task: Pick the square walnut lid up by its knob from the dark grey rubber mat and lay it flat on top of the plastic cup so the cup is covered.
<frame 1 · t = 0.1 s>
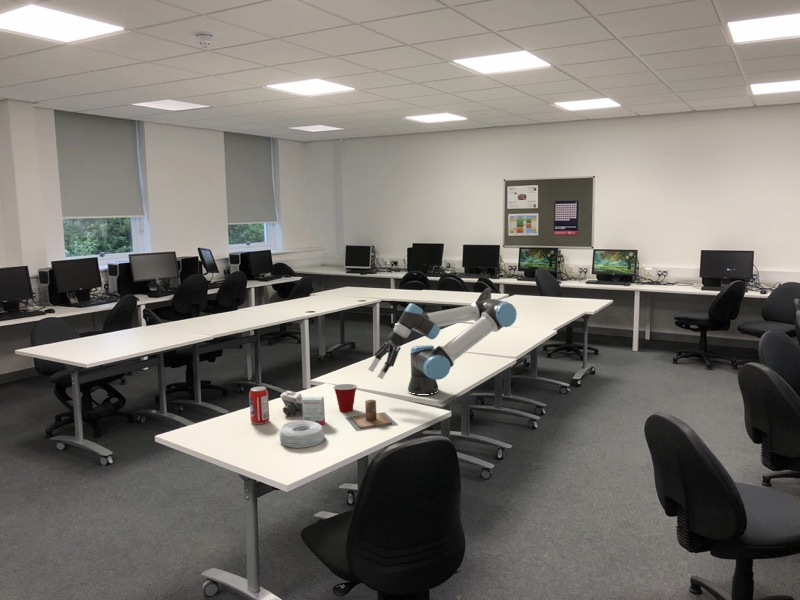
hand: (374, 374, 273), 15 cm above the table, tool tilted 35°, fingers open, 13 cm apart
lid: (371, 421, 254), resting on mat
soda can: (260, 422, 259), on the table
ink box: (314, 425, 254), on the table
plastic cup: (346, 411, 270), on the table
cable: (302, 441, 236), on the table
mat: (371, 422, 255), on the table
camera: (293, 414, 268), on the table
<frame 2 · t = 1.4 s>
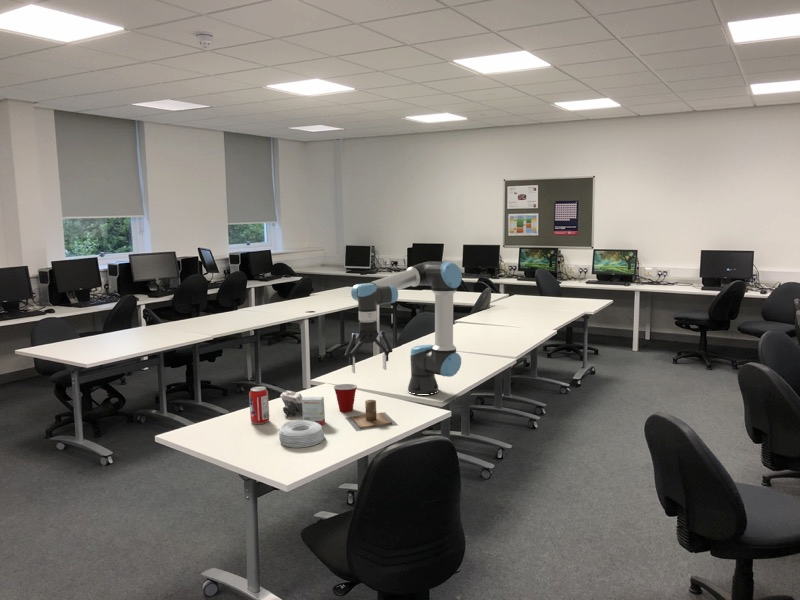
hand: (369, 370, 251), 22 cm above the table, tool pointing down, fingers open, 13 cm apart
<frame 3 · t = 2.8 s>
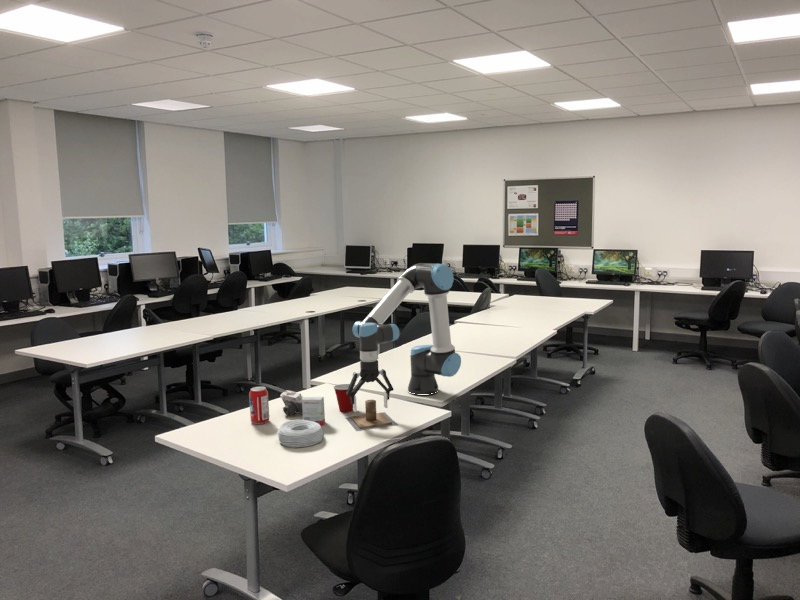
hand: (370, 409, 254), 6 cm above the table, tool pointing down, fingers open, 13 cm apart
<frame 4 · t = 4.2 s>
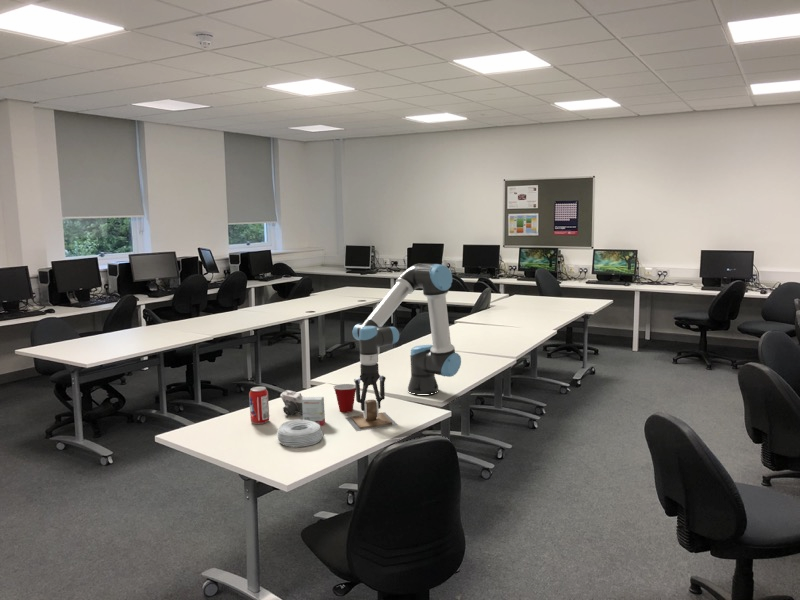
hand: (371, 416, 254), 2 cm above the table, tool pointing down, fingers closed on lid, 4 cm apart
lid: (371, 421, 254), resting on mat, touching gripper
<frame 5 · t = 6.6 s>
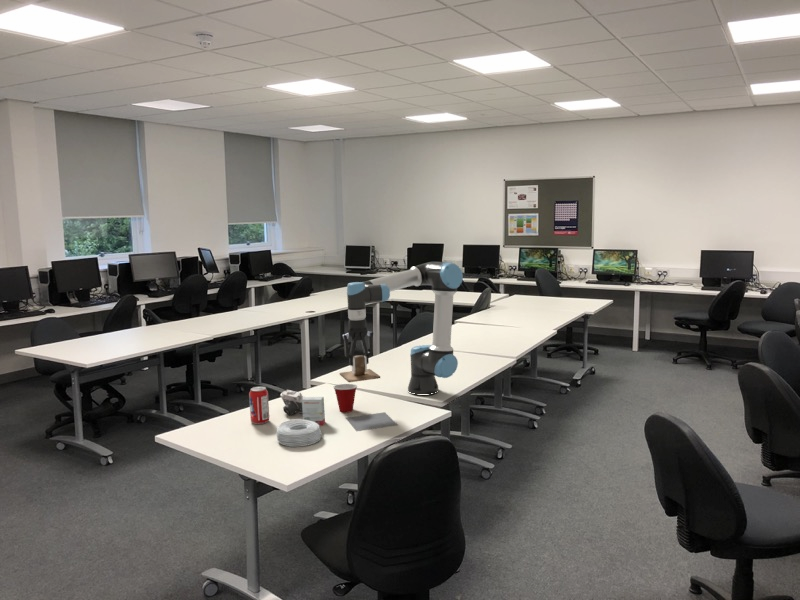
hand: (359, 371, 258), 20 cm above the table, tool pointing down, fingers closed on lid, 4 cm apart
lid: (359, 376, 259), point 18 cm above the table, touching gripper
when the fingers open (15 cm above the table, at t = 8.9 s): lid drops 2 cm, resting on plastic cup.
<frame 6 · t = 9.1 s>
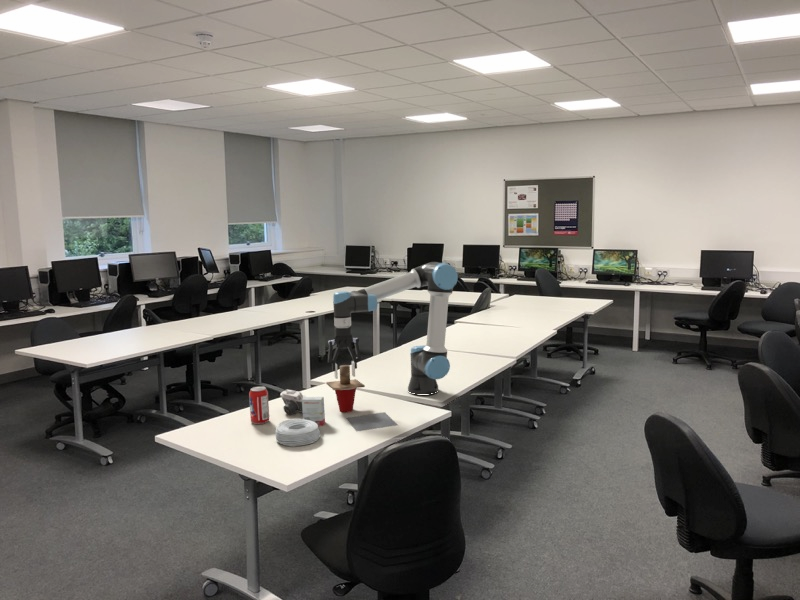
hand: (344, 376, 268), 16 cm above the table, tool pointing down, fingers open, 7 cm apart
lid: (345, 385, 269), point 12 cm above the table, touching plastic cup
plastic cup: (346, 411, 270), on the table, touching lid
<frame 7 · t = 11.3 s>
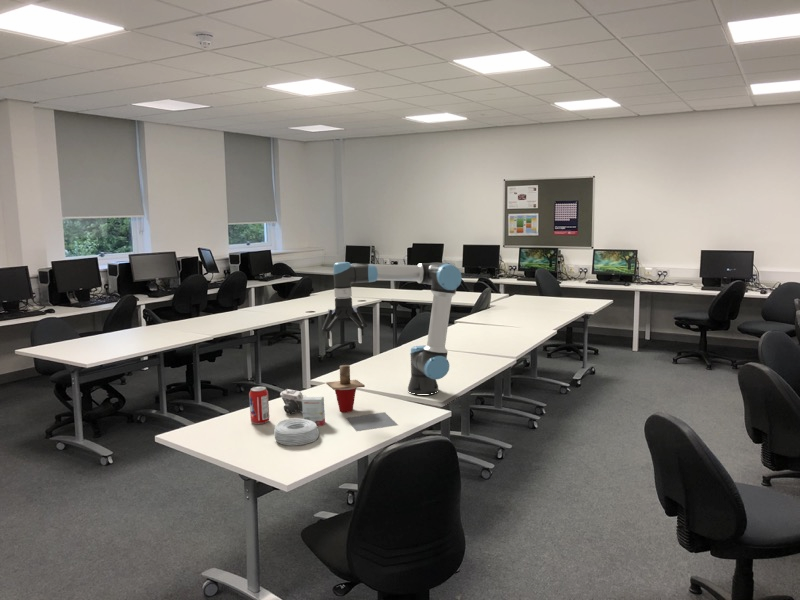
hand: (345, 344, 267), 30 cm above the table, tool pointing down, fingers open, 13 cm apart
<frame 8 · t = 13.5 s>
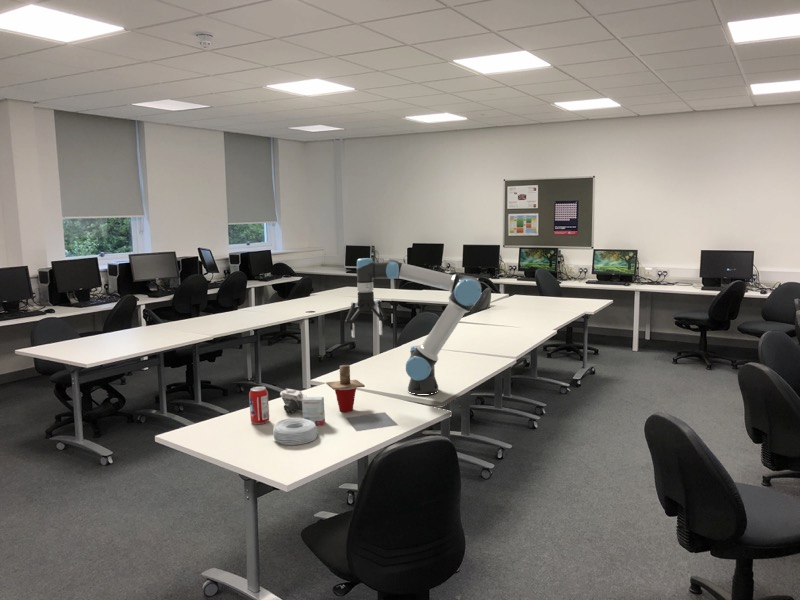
hand: (367, 335, 284), 31 cm above the table, tool pointing down, fingers open, 13 cm apart
at the end: lid 0.0 cm off-centre on the plastic cup, point 12.2 cm above the plastic cup's base; lid tilted 4°; the gripper is holding nothing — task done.
